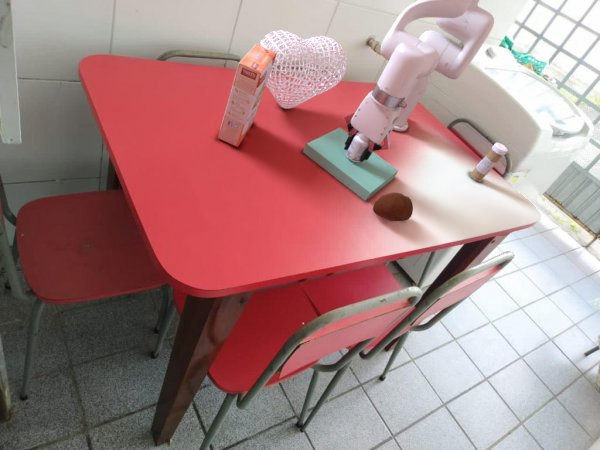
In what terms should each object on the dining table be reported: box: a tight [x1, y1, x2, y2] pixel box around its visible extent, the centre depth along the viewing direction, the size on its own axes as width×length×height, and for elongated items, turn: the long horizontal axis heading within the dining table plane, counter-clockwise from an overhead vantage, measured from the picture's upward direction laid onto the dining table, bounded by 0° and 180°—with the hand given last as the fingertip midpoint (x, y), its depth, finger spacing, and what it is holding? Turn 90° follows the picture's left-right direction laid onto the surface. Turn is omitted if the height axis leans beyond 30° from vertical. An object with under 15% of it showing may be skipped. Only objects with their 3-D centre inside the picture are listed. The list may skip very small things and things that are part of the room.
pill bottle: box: [346, 132, 371, 162], centre depth 110 cm, size 5×5×8 cm
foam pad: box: [302, 127, 399, 202], centre depth 115 cm, size 18×22×3 cm
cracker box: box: [217, 43, 278, 148], centre depth 101 cm, size 14×6×21 cm, turn 168°
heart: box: [258, 29, 348, 110], centre depth 118 cm, size 28×16×22 cm, turn 123°
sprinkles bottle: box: [469, 142, 508, 183], centre depth 134 cm, size 5×5×13 cm
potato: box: [372, 191, 414, 222], centre depth 103 cm, size 8×12×8 cm, turn 110°
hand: (355, 153), depth 112 cm, fingers closed on pill bottle, 4 cm apart
